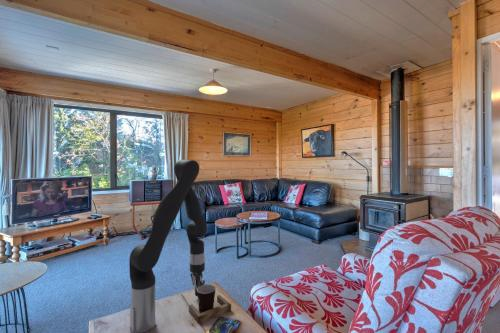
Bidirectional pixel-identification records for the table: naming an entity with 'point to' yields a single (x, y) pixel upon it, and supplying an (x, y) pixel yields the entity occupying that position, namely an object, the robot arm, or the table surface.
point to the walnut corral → (211, 310)
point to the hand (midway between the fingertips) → (197, 295)
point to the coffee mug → (206, 297)
